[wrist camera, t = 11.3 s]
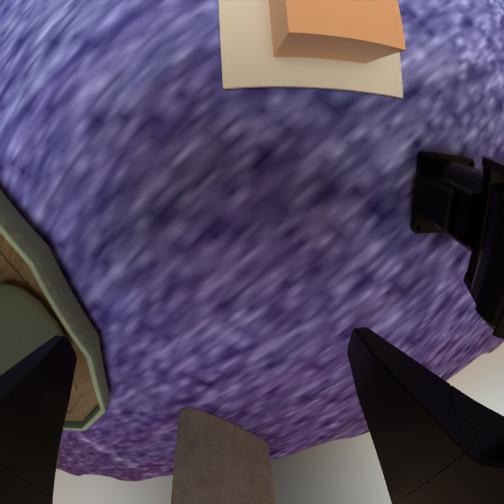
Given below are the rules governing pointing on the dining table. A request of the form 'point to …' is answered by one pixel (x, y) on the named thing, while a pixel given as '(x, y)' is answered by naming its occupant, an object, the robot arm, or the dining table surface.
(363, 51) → the orange cube
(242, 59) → the pad
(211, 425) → the hip flask
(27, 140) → the dining table surface
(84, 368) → the tea set
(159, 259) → the dining table surface
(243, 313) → the dining table surface
